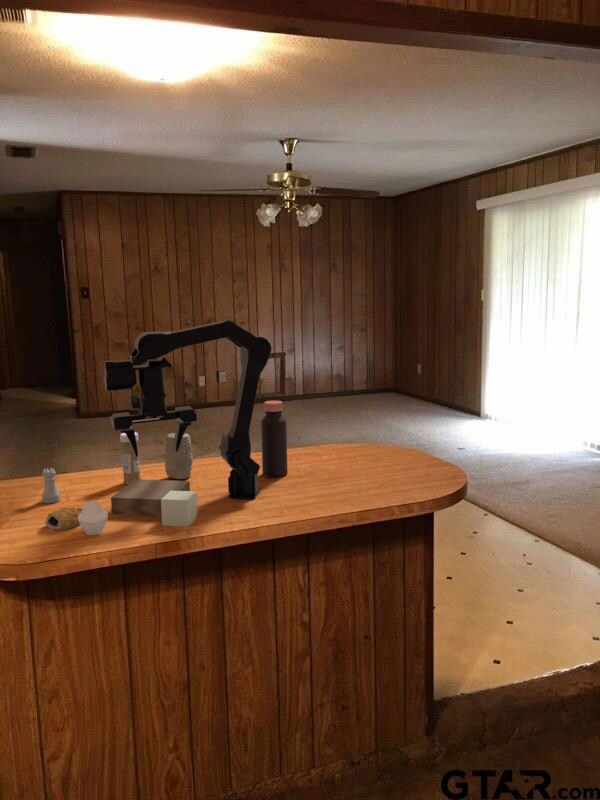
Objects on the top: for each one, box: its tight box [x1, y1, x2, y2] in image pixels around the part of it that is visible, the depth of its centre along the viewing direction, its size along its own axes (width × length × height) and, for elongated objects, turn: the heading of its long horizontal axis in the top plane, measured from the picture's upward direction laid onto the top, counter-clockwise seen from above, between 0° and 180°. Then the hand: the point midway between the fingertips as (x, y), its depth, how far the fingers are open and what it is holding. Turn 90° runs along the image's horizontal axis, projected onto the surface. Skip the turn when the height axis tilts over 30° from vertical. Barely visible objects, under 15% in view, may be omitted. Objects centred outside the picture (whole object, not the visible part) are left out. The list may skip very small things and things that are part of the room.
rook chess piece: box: [41, 467, 62, 504], centre depth 164 cm, size 4×4×8 cm
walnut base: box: [110, 478, 191, 517], centre depth 160 cm, size 14×14×4 cm
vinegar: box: [260, 400, 288, 478], centre depth 181 cm, size 7×7×20 cm
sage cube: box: [161, 490, 198, 527], centre depth 149 cm, size 6×6×6 cm
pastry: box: [44, 507, 83, 531], centre depth 149 cm, size 9×7×4 cm
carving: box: [164, 432, 194, 480], centre depth 180 cm, size 6×8×12 cm
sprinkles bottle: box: [119, 431, 141, 486], centre depth 176 cm, size 5×5×14 cm
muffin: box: [78, 501, 109, 536], centre depth 143 cm, size 6×6×7 cm
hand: (156, 453), depth 157 cm, fingers open, 9 cm apart
